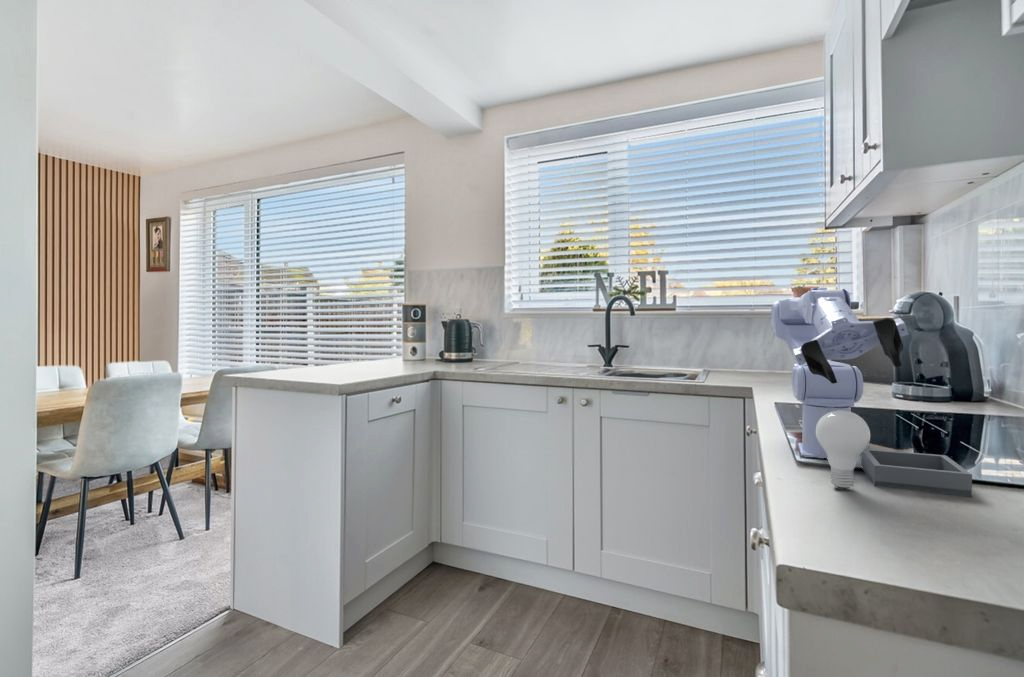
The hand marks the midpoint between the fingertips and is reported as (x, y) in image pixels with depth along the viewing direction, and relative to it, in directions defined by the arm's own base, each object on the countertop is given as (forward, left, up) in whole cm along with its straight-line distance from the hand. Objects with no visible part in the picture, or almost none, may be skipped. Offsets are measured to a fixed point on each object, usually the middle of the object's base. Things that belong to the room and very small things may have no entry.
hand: (863, 369), depth 69 cm
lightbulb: (0, -2, -17) cm, 17 cm away
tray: (-8, +7, -17) cm, 20 cm away
